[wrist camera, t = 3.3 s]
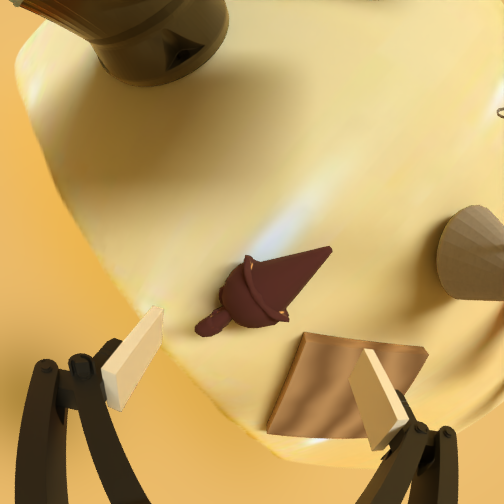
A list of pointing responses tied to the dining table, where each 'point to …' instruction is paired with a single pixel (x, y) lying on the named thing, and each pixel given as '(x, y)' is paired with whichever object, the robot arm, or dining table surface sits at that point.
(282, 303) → the icecream
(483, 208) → the coffee pot
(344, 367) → the serving board
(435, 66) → the dining table surface
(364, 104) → the dining table surface
